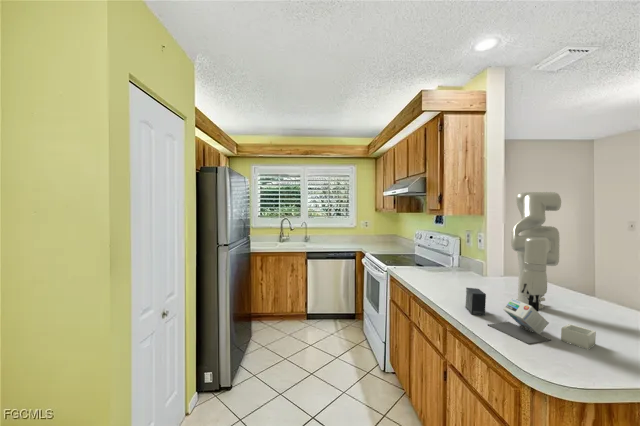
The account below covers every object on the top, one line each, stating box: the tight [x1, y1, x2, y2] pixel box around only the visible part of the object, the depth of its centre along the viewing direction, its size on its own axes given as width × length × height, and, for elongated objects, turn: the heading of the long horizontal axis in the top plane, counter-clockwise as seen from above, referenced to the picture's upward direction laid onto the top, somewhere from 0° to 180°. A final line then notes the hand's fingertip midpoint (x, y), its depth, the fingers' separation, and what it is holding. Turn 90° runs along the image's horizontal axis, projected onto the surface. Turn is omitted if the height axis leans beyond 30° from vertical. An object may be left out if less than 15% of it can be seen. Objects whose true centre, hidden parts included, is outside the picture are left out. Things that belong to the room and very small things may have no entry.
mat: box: [487, 321, 552, 345], centre depth 119 cm, size 12×18×1 cm, turn 18°
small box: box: [464, 287, 487, 316], centre depth 142 cm, size 11×6×10 cm, turn 168°
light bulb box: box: [503, 298, 550, 335], centre depth 121 cm, size 11×7×11 cm
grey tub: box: [560, 323, 597, 350], centre depth 111 cm, size 8×8×5 cm
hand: (533, 310), depth 121 cm, fingers closed
